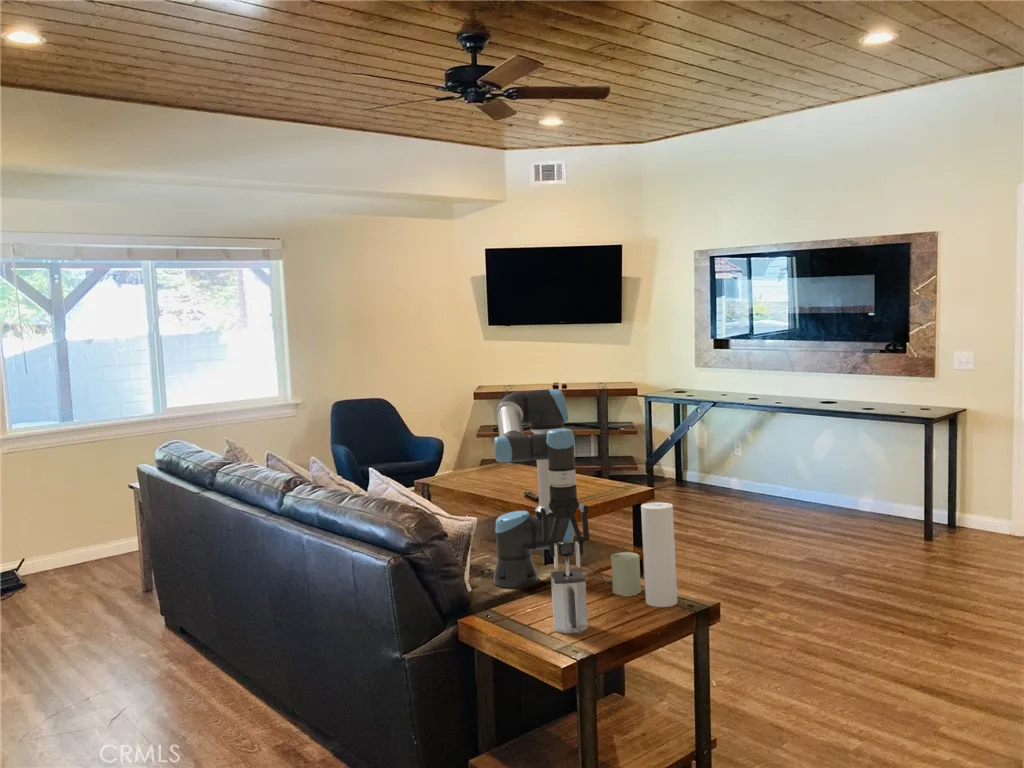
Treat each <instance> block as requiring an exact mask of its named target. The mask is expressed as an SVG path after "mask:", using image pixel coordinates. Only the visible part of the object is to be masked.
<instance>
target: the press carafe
mask: <svg viewBox="0 0 1024 768" xmlns="http://www.w3.org/2000/svg"><path fill="white" fill-rule="evenodd" d="M569 573H570V576H566V570H556V571H551V572H550V574H551V578H550V583H551V585H550V586H551V602H552V606H551V607H552V620H553V621H552V622H553V630H554V632H557V633H560V634H563V635H573V634H575V635H576V634H581V633H583V632H586V630H588V629H589V625H588V624H589V623H588V606H587V605H588V604H587V603H588V601H587V585H586V577H585V576H584V574H583V571H582V570H581V569H569Z"/></svg>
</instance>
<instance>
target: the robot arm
mask: <svg viewBox="0 0 1024 768" xmlns="http://www.w3.org/2000/svg"><path fill="white" fill-rule="evenodd" d="M565 399H566V398H565V395H564V393H563V391H561V389H555V388H554V389H553V388H552V389H551V388H550V389H549V388H547V389H536V390H534V389H533V390H517V391H514V392H511V393H510V394H509V393H508V394H507V395H505V396H504V397H502V398H501V400H499V401H498V402H497V404H496V405H495V408H494V411H493V417H494V421H495V424H496V425H497V426H498V436H495V437H494V438H493V439H494V440H493V444H494V445H493V446H494V459H495V461H496V462H498V463H511V462H512V463H513V462H514V463H515V462H527V461H536V470H537V471H536V474H537V486H538V487H537V490H538V491H537V492H538V505H537V507H536V508H535V509H534V515H532V514H530V512H529V511H527V510H514V511H510V512H506V513H504V514H503V513H502V514H501V515H500V516H498V517H497V518H496V520H495V537H496V538H495V539H496V555H497V560H496V564H495V569H494V572H493V584H494V585H496V586H497V587H500V588H501V587H502V588H508V589H510V588H515V589H516V588H517V589H518V588H525V587H528V586H532V585H535V584H536V583H537V582H538V580H539V576H538V571H537V569H536V566H535V564H534V560H533V558H532V551H535V550H536V551H537V550H549V555H550V557H551V558H553V562H554V564H553V565H554V569H555V570H558V569H559V554H558V550H559V549H558V543H559V542H561V541H573V542H574V551H575V565H576V567H577V568H581V557H580V556H581V555H584V543H585V542H587V541H589V540H590V532H589V523H588V522H589V521H588V512H589V505H587V504H586V503H580V502H579V500H578V492H577V490H578V489H577V484H576V483H577V475H576V474H577V473H576V461H575V460H576V459H575V456H576V455H575V439H574V432H573V430H572V429H571V428H565V424H567V423H568V422H569V413H568V408H567V401H566V400H565ZM523 426H529V430H530V431H531V432H532V433H533V434H525V431H524V427H523ZM578 509H579V511H580V513H581V523H582V533H583V535H582V534H581V532H580V528H579V525H578V523H577V519H576V517H575V514H576V512H577V511H578ZM574 535H575V537H576V539H577V541H574Z"/></svg>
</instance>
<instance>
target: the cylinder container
mask: <svg viewBox="0 0 1024 768" xmlns="http://www.w3.org/2000/svg"><path fill="white" fill-rule="evenodd" d="M640 511H641V513H640V514H641V515H640V516H641V533H642V552H643V553H642V554H643V571H644V573H643V574H644V594H645V603H646V604H647V606H650V607H655V608H656V607H657V608H668V607H673V606H675V605H677V604H678V586H677V585H678V584H677V567H676V547H675V545H676V544H675V528H674V527H675V526H674V505H673V504H672V503H670V502H660V501H659V502H658V501H656V502H647V503H642V504H641V505H640Z"/></svg>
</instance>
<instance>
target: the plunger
mask: <svg viewBox="0 0 1024 768" xmlns="http://www.w3.org/2000/svg"><path fill="white" fill-rule="evenodd" d="M557 550H558V556H559V557H560V556H561V557H564V563H565V571H566V576H570V573H569V570H570V559H569V557H571V556H574V555H576V552H575V541H574V540H573V541H561V542H559V543H558V549H557Z"/></svg>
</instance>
